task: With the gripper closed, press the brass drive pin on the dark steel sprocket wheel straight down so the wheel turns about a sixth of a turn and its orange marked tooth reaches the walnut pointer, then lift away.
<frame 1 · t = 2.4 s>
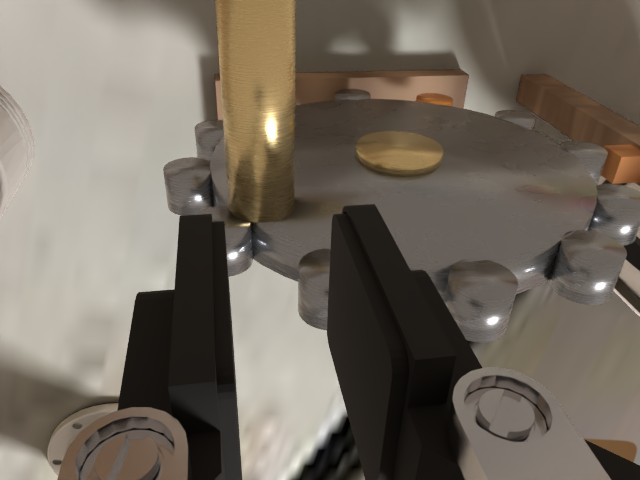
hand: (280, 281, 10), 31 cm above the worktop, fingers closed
wheel stand: (341, 92, 41), on the worktop
coffee press: (597, 188, 50), on the worktop
sprocket: (405, 90, 27), point 14 cm above the worktop, hinge at 0.0°
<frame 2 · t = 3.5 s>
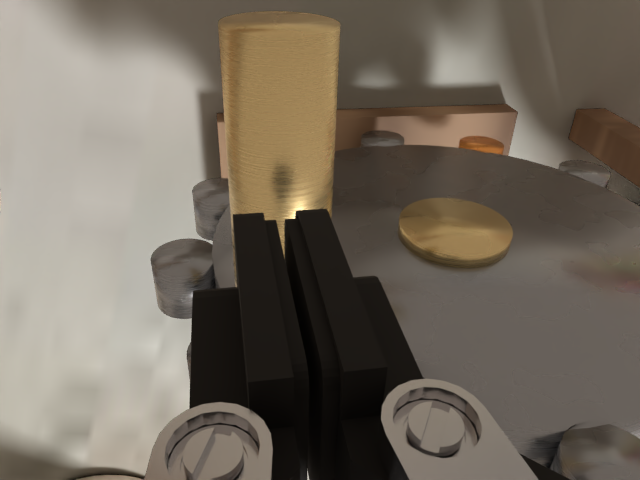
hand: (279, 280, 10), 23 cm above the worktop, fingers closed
wheel stand: (366, 132, 35), on the worktop
sprocket: (467, 155, 21), point 14 cm above the worktop, hinge at 0.0°
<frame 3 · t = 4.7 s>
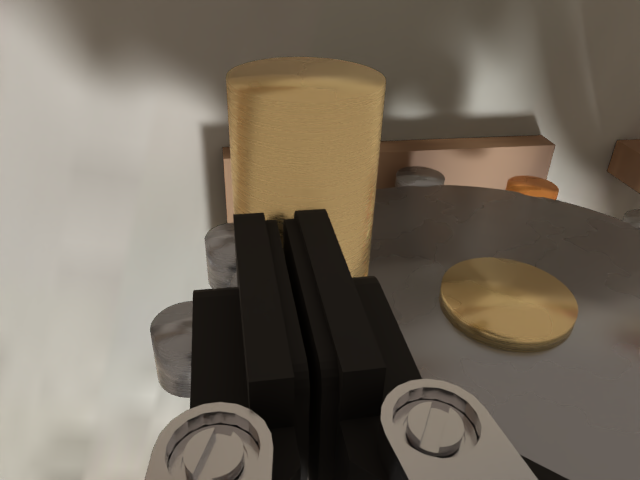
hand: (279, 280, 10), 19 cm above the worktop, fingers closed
wheel stand: (387, 166, 31), on the worktop
sprocket: (527, 217, 17), point 14 cm above the worktop, hinge at -3.4°, touching gripper
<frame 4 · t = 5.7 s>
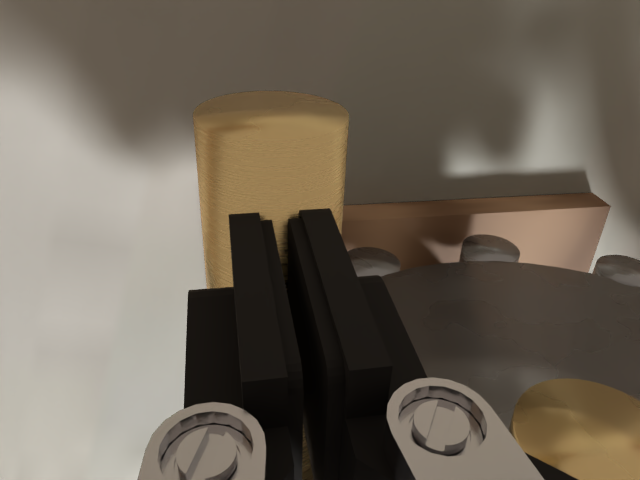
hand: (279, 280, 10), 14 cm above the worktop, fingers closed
wheel stand: (416, 229, 27), on the worktop
sprocket: (637, 355, 13), point 14 cm above the worktop, hinge at -40.6°, touching gripper
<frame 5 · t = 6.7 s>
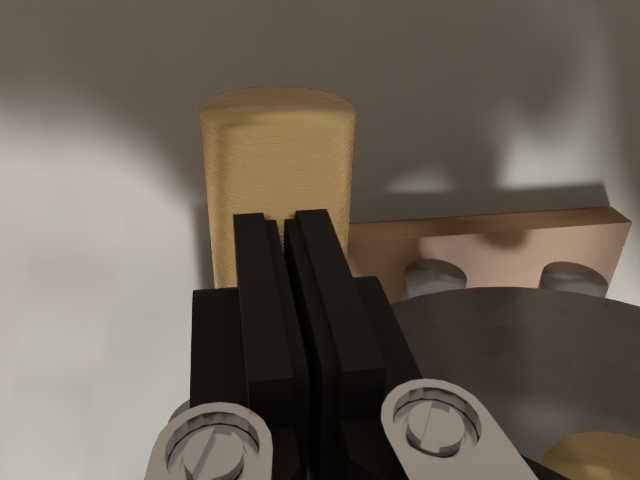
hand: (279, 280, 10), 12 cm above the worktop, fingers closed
wheel stand: (423, 248, 25), on the worktop
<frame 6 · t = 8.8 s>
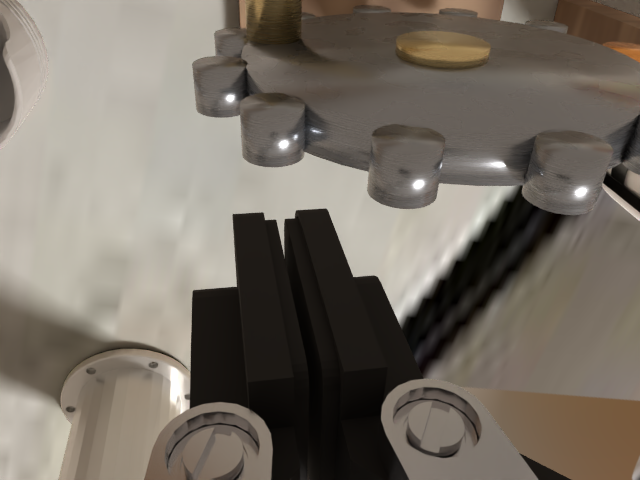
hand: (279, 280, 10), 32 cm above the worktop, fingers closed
wheel stand: (369, 13, 39), on the worktop
coffee press: (631, 127, 48), on the worktop
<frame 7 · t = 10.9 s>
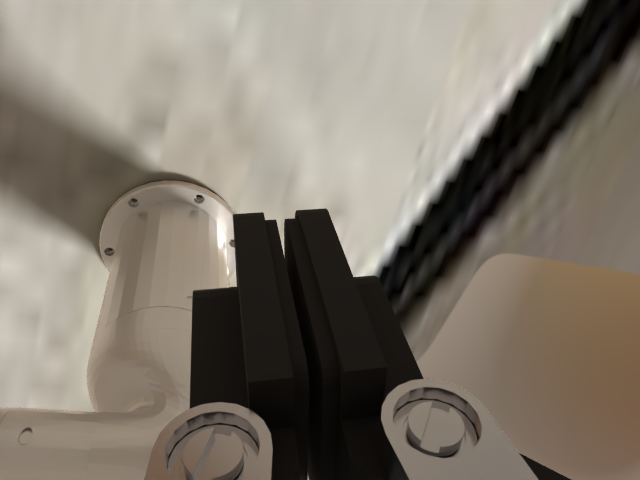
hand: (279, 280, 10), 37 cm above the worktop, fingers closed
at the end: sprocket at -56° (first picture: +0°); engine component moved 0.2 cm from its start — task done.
